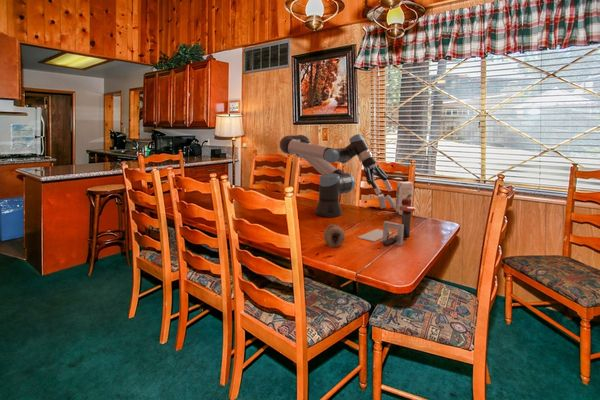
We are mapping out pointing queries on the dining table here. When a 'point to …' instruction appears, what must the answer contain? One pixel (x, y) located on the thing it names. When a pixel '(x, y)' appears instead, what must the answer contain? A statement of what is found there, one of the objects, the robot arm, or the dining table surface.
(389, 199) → the wall hook
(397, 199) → the juice carton
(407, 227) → the hook
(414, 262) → the dining table surface
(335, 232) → the grey round lumpy ball
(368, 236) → the pad
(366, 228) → the dining table surface
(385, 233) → the grey u-shaped bracket
